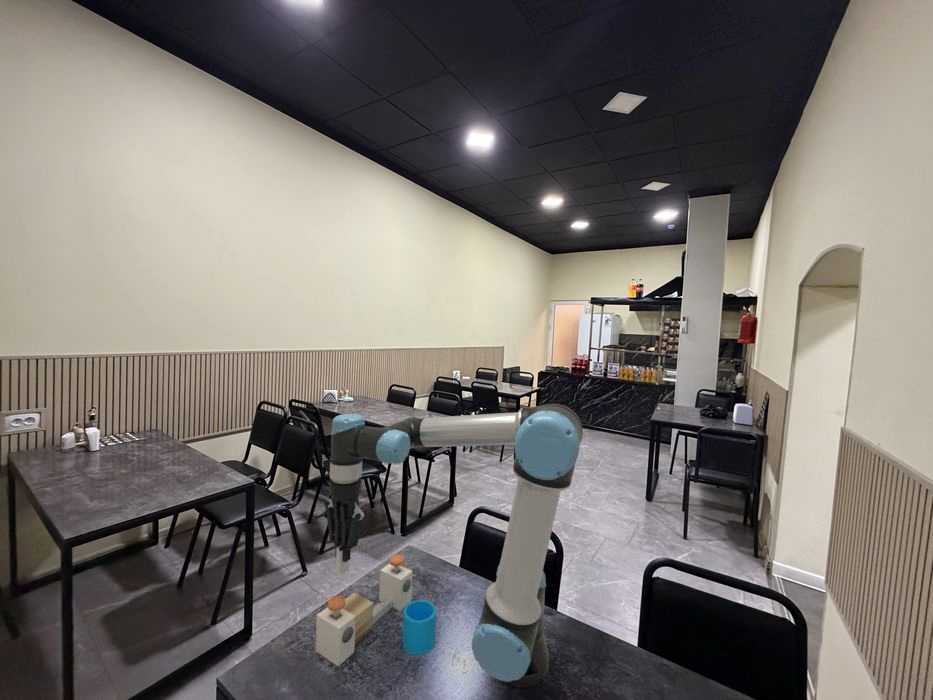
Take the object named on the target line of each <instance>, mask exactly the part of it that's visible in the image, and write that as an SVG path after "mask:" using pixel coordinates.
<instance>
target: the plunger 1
mask: <svg viewBox="0 0 933 700" xmlns="http://www.w3.org/2000/svg"><path fill="white" fill-rule="evenodd" d="M345 599H346V598H345V596H344V595H340V594H337V595H332V596H331V597H330V598H328V601H327V607H328V609H329V610H330V611H333V618H334V619H335V620H337V619H338V618H339V610H341V609H342V608H344V606H345Z"/></svg>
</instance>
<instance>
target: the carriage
mask: <svg viewBox="0 0 933 700" xmlns="http://www.w3.org/2000/svg"><path fill="white" fill-rule="evenodd" d="M373 608H374V602H373V601H371V600H369V599H368V598H366V597H363V596H361V595H360V594H358V593H356V592H353V593H352V594H350V595H348V596H347V597H346V598H345V606H344V608H342V609H344V610H346V611H348V612H349V613H351V614H353V615H355V616H356V618H355V645H357V643H359V642H360V641H361V640H362V639H363V638H364V637H366V636H367V635H368V634H369V633H370V632H371V627H373V625H374V624H373Z"/></svg>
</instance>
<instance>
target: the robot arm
mask: <svg viewBox="0 0 933 700" xmlns="http://www.w3.org/2000/svg"><path fill="white" fill-rule="evenodd" d="M365 423H366V422H365V418H364V416H363V415H361V414H355V413H345V414H340V415H337V416H335V417H334V418H333V419H332V425H331V433H330V448H331V449H330V453H331V454H330V462H329V478H330V480H329V489H328V490H329V491H328V493H329V496H330V498H329V499H327V500H325V501H324V502H323V505H324V507H325V511H326V519H327V520H326V521H327V526H328V527H327V529H328V536H329V537H328V539H329V541H330V542H333V545H334V547H335V551H334V552H335V553H334V556H335V559H336V560H335V574H336V575H338V576H339V577H340V576H342V575H344V574H345V573H347V572H349V568H350V567H349V565H350V564H349V563H350V560H351V551H352V550H351V549H353V548H355V547H357V546H358V544H359V539H360V534H361V530H362V527H363V522H364V519H365V517H366V516H367V511H366V510H362V509H361V508H360V501H359V496H360V494H361V492H362V481H363V480H362V475H363V473H362V472H363V459H364V460H365V459H367V460H372V461H376V462H381V463H384V464H392V465H393V464H394V465H396V464H397V465H399V464H402V463H403V462H405V460H406V458H407V457H408V455H409V453H410V450H411V449H413V448H429V447H430V448H434V447H435V448H437V447H468V446H469V447H473V446H475V447H477V446H504V445H506V446H508V445H514V454H515V457H514V462H513V466H512V472H513V473H514V475H515V476H516V478H517V482H516V483H517V485H516V489H515V493H514V498H513V502H512V508H511V511H510V514H509V515H510V516H509V521H508V525H507V530H506V534H505V535H506V536H505V539H504V543H503V549H502V553H501V558H500V562H499V565H498V566H497V568H496V580H495V582H492V583H491V584H490V585H489V586H488V588H487V589H486V592H485V597H484V600H483V604H482V605H483V606H482V610H481V615H480V618H479V622H478V625H477V626H476V627H475V629H474V630H473V634H472V635H473V636H472V639H471V650H472V654H473V656H474V659H475V660H476V661H477V662H478V664H479V666H480V669H482V670H483V671H484V672H486V674H488V675H489V676H490V677H492V678H494V679H497V680H499V681H501V682H503V683H504V684H507V685H508V686H511V687H514V688H515V687H516V688H531V687H534V686H537V685H538V684H540V683H541V682H543V681H544V680H545V679H546V677H547V675H548V673H549V671H550V670H549V669H550V653H549V649H548V646H547V641H546V637H545V634H544V619H545V618H544V617H545V599H546V598H545V596H546V595H545V593H546V587H547V582H546V574H545V572H544V566H545V561H546V557H547V553H548V549H549V543H550V539H551V535H552V531H553V527H554V522H555V518H556V513H557V510H558V505H559V500H560V495H561V493H562V492H563V491H566V490H567V489H569V488H570V487H571V484H572V480H573V475H574V472H575V471H574V470H575V466H576V462H577V460H578V457H579V452H580V445H581V443H582V439H583V425H582V422H581V420H580V418H579V416H578V415H577V414H576V412H575V411H573V410H572V409H571V408H570V407H568V406H566V405H564V404H563V405H562V404H559V403H548V404H542V405H537V406H530V407H527V406H525V407H521V408H520V409H519V410H518V411H517V412H504V413H502V412H501V413H500V412H499V413H485V414H482V413H481V414H469V415H468V414H467V415H453V416H452V415H451V416H438V417H420V416H411V417H406V418H405V419H402V420H401V421H398V422H396V423H393V424H390V425H386V426H384V427H377V426H376V427H374V426H368V425H365Z"/></svg>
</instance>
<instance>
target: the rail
mask: <svg viewBox="0 0 933 700" xmlns="http://www.w3.org/2000/svg"><path fill="white" fill-rule="evenodd" d="M392 608H393V600H391V599H389V598H387V597H386V598H385V599H384V600H383V601H379V602H378V603H377V604H376V605H375V606H373V625H374V624H375V623H376V622H377V621H379V619H380V618H382V617H383V616H384V615H386V614H387V613H388V612H389V611H390V610H391V609H392Z"/></svg>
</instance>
